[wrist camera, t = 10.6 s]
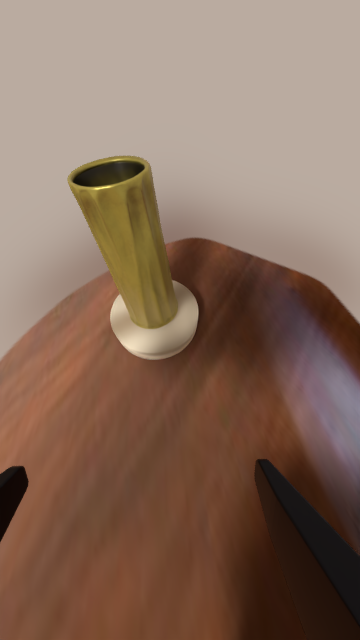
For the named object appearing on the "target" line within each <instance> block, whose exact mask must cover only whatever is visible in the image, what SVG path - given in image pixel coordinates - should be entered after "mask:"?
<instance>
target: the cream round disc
mask: <svg viewBox="0 0 360 640" xmlns="http://www.w3.org/2000/svg"><path fill="white" fill-rule="evenodd" d="M172 282H173V288H174V292H175V296H176V299H177V301H178V311H177V314H176V316H175V317H174V319H173V320H172V321H171V322H169V323H168V324H166V325H165V326H163V327H160V328H157V329H144V328H141V327H139V326H137V325H136V324H134V323H133V322H132V321H131V319H130V316H129V313H128V310H127V308H126V306H125V303H124V301H123V299H122V297H121V295H120V294H119V296H118V297H117V298H116V300H115V302H114V304H113V306H112V309H111V315H110V320H111V326H112V329H113V331H114V333H115V335H116V336H117V338H118V339H119V341H120V342H121V344H122V345H123V346H124V347H125V348H126V349H127V350H128V351H129V352H130V353H132V354H133V355H135V356H138V357H140V358H143V359H149V360H160V359H165V358H169V357H172V356H174V355H176V354H178V353H179V352H181V351H182V350H183V349H185V348H186V347H187V346H188V344H189V343H190V342H191V340H192V339H193V337H194V335H195V332H196V328H197V321H198V304H197V302H196V299H195V297H194V296H193V294H192V293H191V292H190V291H189V289H188V288H186V287H185V286H184V285H182V284H180V283H178V282H176V281H174V280H172Z"/></svg>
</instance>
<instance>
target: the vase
mask: <svg viewBox="0 0 360 640" xmlns="http://www.w3.org/2000/svg"><path fill="white" fill-rule="evenodd" d="M68 183H69V186H70V188H71V191H72V193H73V194H74V196H75V198H76V200H77V202H78V204H79V206H80V208H81V210H82V212H83V214H84V216H85V219H86V221H87V222H88V225H89V227H90V229H91V232H92V234H93V236H94V238H95V240H96V242H97V244H98V246H99V249H100V251H101V253H102V255H103V257H104V259H105V262H106V264H107V266H108V268H109V270H110V273H111V275H112V277H113V280H114V282H115V284H116V286H117V288H118V290H119V292H120V295H121V297H122V299H123V301H124V303H125V306H126V308H127V310H128V313H129V316H130V319H131V321H132V322H133V323H134V324H136V325H137V326H139V327H141V328H144V329H157V328H160V327H163V326H165V325H166V324H168V323H169V322H171V321H172V320H173V319H174V317H175V316H176V314H177V311H178V301H177V299H176V296H175V292H174V288H173V282H172V277H171V272H170V267H169V262H168V257H167V252H166V248H165V244H164V239H163V234H162V229H161V224H160V218H159V211H158V206H157V200H156V196H155V190H154V184H153V177H152V172H151V167H150V164H149V163H148V162H147V161H146V160H144V159H142V158H140V157H135V156H114V157H109V158H104V159H99V160H96V161H93V162H90V163H87V164H84V165H82V166H80V167H78V168H77V169H75V170H74V171H72V172H71V174H70V175H69V176H68Z"/></svg>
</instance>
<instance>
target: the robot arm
mask: <svg viewBox="0 0 360 640" xmlns="http://www.w3.org/2000/svg"><path fill="white" fill-rule="evenodd" d="M255 482H256V486H257V490H258V493H259V497H260V501H261V504H262V508H263V512H264V515H265V519H266V523H267V526H268V530H269V533H270V537H271V540H272V543H273V546H274V549H275V551H276V554H277V557H278V560H279V562H280V565H281V568H282V571H283V574H284V576H285V579H286V582H287V585H288V588H289V590H290V593H291V596H292V599H293V602H294V604H295V607H296V610H297V613H298V616H299V618H300V621H301V624H302V627H303V629H304V632H305V635H306V638H307V640H360V556H359V555H358V554H357V553H356V552H355V551H354V550H353V549H352V548H351V547H350V545H349V544H348V543H347V542H346V541H345V540H344V539H343V538H342V537H341V536H340V535H339V534H338V533H337V532H336V531H335V530H334V529H333V528H332V527H331V525H330V524H329V523H328V522H327V521H326V520H325V519H324V518H323V517H322V516H321V515H320V514H319V513H318V512H317V511H316V510H315V509H314V508H313V507H312V506H311V504H310V503H309V502H308V501H307V500H306V499H305V498H304V497H303V496H302V495H301V494H300V493H299V492H298V491H297V490H296V489H295V488H294V487H293V486H292V484H291V483H290V482H289V481H288V480H287V479H286V478H285V477H284V476H283V475H282V474H281V473H280V472H279V471H278V470H277V469H276V468H275V467H274V466H273V465H272V463H271V462H270V461H269V460H267V459H257V460H256V465H255ZM27 487H28V478H27V474H26V471H25V468H24V467H23V466H12V467H10V468H8V469H7V470H5V471H4V472H3V473H1V474H0V542H1V540H2V538H3V536H4V534H5V532H6V530H7V528H8V526H9V524H10V522H11V520H12V518H13V516H14V514H15V512H16V510H17V508H18V506H19V504H20V502H21V500H22V498H23V496H24V494H25V492H26V489H27Z"/></svg>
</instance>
